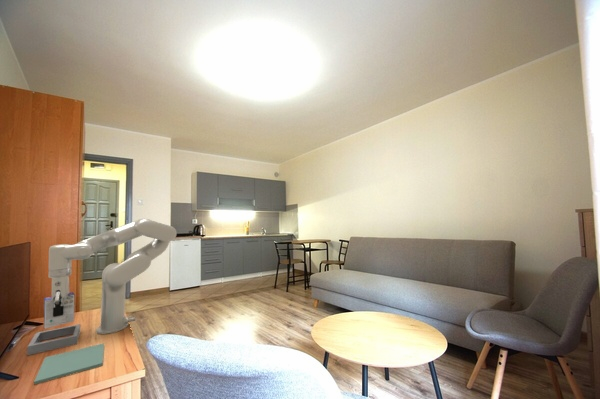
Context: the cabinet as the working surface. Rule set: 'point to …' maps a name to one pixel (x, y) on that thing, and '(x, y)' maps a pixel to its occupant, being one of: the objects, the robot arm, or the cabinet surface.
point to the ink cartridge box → (63, 319)
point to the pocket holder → (56, 343)
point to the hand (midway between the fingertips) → (59, 313)
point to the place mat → (70, 363)
